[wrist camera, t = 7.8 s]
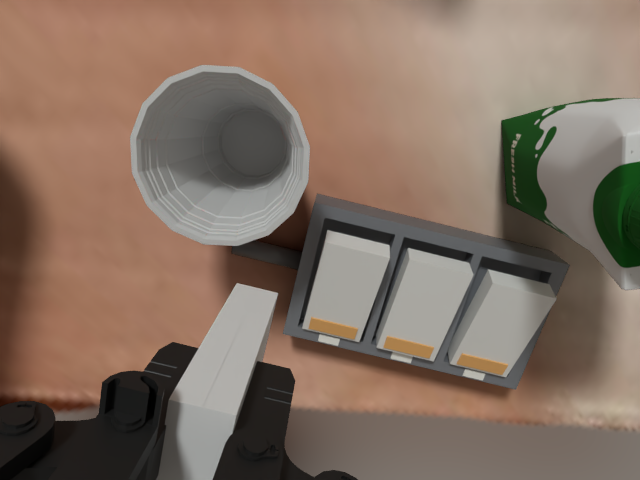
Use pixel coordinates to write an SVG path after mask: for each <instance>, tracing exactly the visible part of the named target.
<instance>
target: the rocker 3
mask: <svg viewBox="0 0 640 480" xmlns="http://www.w3.org/2000/svg"><path fill="white" fill-rule="evenodd" d="M556 299H557V298H556V296H555V294H554V292H553V290H552V288H551V286H550V284H546V283H542V282H538V281H534V280H530V279H526V278H521V277H517V276H513V275H509V274H505V273H501V272H497V271H493V270H489V269H488V271H487V273H486V275H485V277H484V278H483V280H482V282H481V284H480V286H479V288H478V290H477V292H476V294H475V296H474V298H473V300H472V302H471V304H470V306H469V307H468V309H467V311H466V313H465V315H464V317H463V319H462V321H461V323H460V325H459V327H458V329H457V331H456V333H455V335H454V336H453V338H452V340H451V342H450V345H449V348H448V357H449V363H450V364H452V365H456V366H460V367H465V368H469V369H473V370H477V371H481V372H485V373H490V374H494V375H498V376H502V377H507V375H508V373H509V372H510V370H511V369H512V367H513V366H514V364H515V363H516V361H517V360H518V358H519V356H520V355H521V353H522V352H523V350H524V349H525V347H526V346H527V344H528V343H529V341H530V339H531V338H532V336H533V335H534V333H535V332H536V330H537V329H538V327H539V326H540V324H541V322H542V321H543V319H544V318H545V316H546V315H547V313H548V312H549V310H550V309H551V307H552V305H553V304H554V302H555V301H556Z"/></svg>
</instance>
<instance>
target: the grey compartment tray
mask: <svg viewBox="0 0 640 480" xmlns="http://www.w3.org/2000/svg"><path fill="white" fill-rule="evenodd" d="M327 230H329V231H333V232H338V233H342V234H346V235H350V236H354V237H358V238H362V239H366V240H370V241H374V242H378V243H382V244H387V245H390V259H389V262H388V265H387V268H386V270H385V273H384V276H383V278H382V281H381V284H380V287H379V289H378V292H377V295H376V298H375V300H374V303H373V306H372V308H371V311H370V314H369V317H368V319H367V322H366V325H365V328H364V330H363V333H362V336H361V339H360V341H359V342H356V341H352V340H348V339H344V338H340V337H335V336H331V335H327V334H323V333H319V332H315V331H310V330H306V329H302V327H303V322H304V317H305V313H306V309H307V305H308V302H309V298H310V294H311V290H312V286H313V283H314V279H315V275H316V271H317V268H318V264H319V260H320V256H321V252H322V249H323V245H324V241H325V237H326V234H327ZM408 248H411V249H415V250H419V251H423V252H427V253H431V254H435V255H439V256H443V257H447V258H451V259H455V260H460V261H464V262H468V263H469V264H470V267H471V269H472V272H473V277H472V280H471V282H470V284H469V286H468V288H467V290H466V293H465V295H464V297H463V299H462V301H461V303H460V306H459V308H458V310H457V312H456V314H455V316H454V318H453V321H452V323H451V325H450V327H449V329H448V331H447V334H446V336H445V338H444V340H443V342H442V344H441V347H440V349H439V351H438V353H437V355H436V357H435V360H434V361H430V360H426V359H422V358H417V357H413V356H409V355H405V354H401V353H397V352H392V351H388V350H384V349H380V348H377V343H376V333H377V331H378V328H379V325H380V323H381V320H382V317H383V314H384V312H385V309H386V306H387V303H388V301H389V298H390V295H391V293H392V290H393V287H394V284H395V282H396V279H397V276H398V273H399V271H400V268H401V265H402V263H403V260H404V257H405V254H406V252H407V249H408ZM232 254H235V255H239V256H244V257H248V258H252V259H256V260H260V261H264V262H268V263H272V264H277V265H281V266H285V267H289V268H293V269H297V270H298V273H297V277H296V281H295V285H294V289H293V294H292V298H291V302H290V306H289V310H288V314H287V318H286V323H285V327H284V331H283V334H286V335H290V336H294V337H298V338H302V339H307V340H311V341H315V342H319V343H323V344H328V345H332V346H336V347H340V348H344V349H348V350H353V351H357V352H361V353H365V354H369V355H374V356H378V357H382V358H386V359H390V360H394V361H399V362H403V363H407V364H411V365H415V366H419V367H424V368H428V369H432V370H436V371H440V372H445V373H449V374H453V375H457V376H461V377H465V378H470V379H474V380H478V381H482V382H486V383H490V384H495V385H499V386H503V387H507V388H511V389H516V388H517V386H518V383H519V381H520V379H521V377H522V374H523V372H524V370H525V367H526V365H527V363H528V360H529V358H530V356H531V353H532V351H533V349H534V346H535V344H536V342H537V340H538V337H539V335H540V333H541V330H542V328H543V326H544V323H545V321H546V319H547V316H548V314H549V312H550V310H549V312H548V313H547V315H546V316H545V318H544V319H543V321H542V322H541V324H540V326H539V327H538V329H537V330H536V332H535V333H534V335H533V336H532V338H531V339H530V341H529V343H528V344H527V346H526V347H525V349H524V350H523V352H522V353H521V355H520V356H519V358H518V360H517V361H516V363H515V364H514V366H513V367H512V369H511V370H510V372H509V373H508V375H507V377H502V376H498V375H494V374H490V373H485V372H481V371H477V370H473V369H469V368H465V367H460V366H456V365H452V364H450V363H449V357H448V348H449V345H450V342H451V340H452V338H453V336H454V335H455V333H456V331H457V329H458V327H459V325H460V323H461V321H462V319H463V317H464V315H465V313H466V311H467V309H468V307H469V306H470V304H471V302H472V300H473V298H474V296H475V294H476V292H477V290H478V288H479V286H480V284H481V282H482V280H483V278H484V277H485V275H486V273H487V271H488V269H489V270H493V271H497V272H501V273H505V274H509V275H513V276H517V277H521V278H526V279H530V280H534V281H538V282H542V283H546V284H550V286H551V288H552V290H553V292H554V294H555V296H557V293H558V291H559V289H560V286H561V284H562V282H563V279H564V277H565V275H566V272H567V270H568V268H569V266H570V265H569V264H568V263H566V262H565V261H564V260H562V259H561V258H560V257H558V256H557V255H556V254H554V253H553V252H551V251H548V250H544V249H540V248H536V247H532V246H528V245H524V244H520V243H516V242H512V241H508V240H504V239H500V238H495V237H491V236H487V235H483V234H479V233H475V232H471V231H467V230H463V229H459V228H455V227H451V226H447V225H443V224H439V223H435V222H430V221H426V220H422V219H418V218H414V217H410V216H406V215H402V214H398V213H394V212H390V211H386V210H382V209H378V208H374V207H370V206H365V205H361V204H357V203H353V202H349V201H345V200H341V199H337V198H333V197H329V196H325V195H321V194H317V195H316V199H315V202H314V206H313V210H312V215H311V219H310V223H309V227H308V231H307V235H306V240H305V244H304V248H303V252H300V251H296V250H292V249H288V248H284V247H280V246H276V245H271V244H267V243H263V242H259V241H255V240H253V241H250V242H247V243H245V244H242V245H239V246H232Z"/></svg>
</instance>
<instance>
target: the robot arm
mask: <svg viewBox="0 0 640 480" xmlns="http://www.w3.org/2000/svg"><path fill="white" fill-rule="evenodd" d="M277 296H278V293H276V292H272V291H268V290H264V289H260V288H255V287H251V286H247V285H243V284H239V283H237V284H236V285H235V287H234V289H233V290H232V292H231V294H230V296H229V297H228V299H227V301H226V302H225V304H224V306H223V308H222V309H221V311H220V313H219V314H218V316H217V318H216V320H215V321H214V323H213V325H212V326H211V328H210V330H209V331H208V333H207V335H206V337H205V338H204V340H203V342H202V343H201V345H200V347H199V348H195V347H191V346H187V345H183V344H179V343H174V342H172V343H170V344H168V345H167V346H165V347H163V348H161V349H159V350H158V352H157V353H156V355H155V356H154V357H153V359H152V360H151V362H150V363H149V364H148V365H147V367H146V368H145V370H144V371H143V372H140V371H126V372H120V373H117V374H115V375H112V376H110V377H109V378H107V379H106V380H105V381H103V382H102V390H101V399H100V408H99V414H98V415H97V417H96V418H93V419H89V420H81V421H55V415H54V412H53V410H52V409H51V408H49V407H48V406H47V405H45V404H42V403H38V402H35V401H19V402H15V403H10V404H6V405H4V406H1V407H0V480H357V479H356V478H355V477H353V476H351V475H349V474H347V473H345V472H341V471H335V470H331V471H324V472H322V473H320V474H319V475H317V476H316V477H315V478H314V477H312V476H310V475H309V474H307V473H305V472H303V471H302V470H300V469H299V468H297V467H296V466H295V465H294V464H293V463H292V462H291V461H290V459H289V457H288V456H287V454H286V451H285V448H284V441H285V435H286V430H287V424H288V418H289V413H290V407H291V401H292V396H293V390H294V384H295V379H294V377H293V374H292V372H291V370H290V369H289V368H285V367H281V366H276V365H272V364H268V363H264V362H262V361H263V357H264V353H265V348H266V344H267V340H268V335H269V331H270V327H271V322H272V318H273V314H274V309H275V305H276V301H277Z"/></svg>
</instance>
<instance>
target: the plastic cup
mask: <svg viewBox="0 0 640 480" xmlns="http://www.w3.org/2000/svg"><path fill="white" fill-rule="evenodd" d="M130 143H131V163H132V174H133V176H134V178H135V181H136V183H137V185H138V187H139V189H140V192H141V194H142V196H143V198H144V200H145V203H146V205H147V206H148V207H149V208H150V209H151V210H152V211H153V212H154V213H155V214H156V215H157V216H158V217H159V218H160V219H161V220H162V221H163V222H164V223H165V224H166V225H167V226H168V227H169V228H170V229H171V230H172V231H175V232H177V233H179V234H181V235H184V236H186V237H188V238H190V239H193V240H195V241H197V242H199V243H202V244H206V245H227V246H239V245H242V244H245V243H247V242H250V241H253V240H256V239H259V238H262V237H265V236H268V235H269V234H271V233H272V232H273V231H274V230H275V229H276V228H277V227H278V226H279V225H281V224H282V223H283V222H284V221H285V220H286V219H287V218H288V217H290V216H291V215H292V214H293V213H294V211H295V209H296V207H297V205H298V203H299V200H300V198H301V196H302V194H303V192H304V190H305V188H306V186H307V184H308V175H309V154H310V146H309V143H308V140H307V137H306V135H305V132H304V129H303V126H302V123H301V120H300V117H299V115H298V112H297V111H296V110H295V109H294V107H293V106H292V105H291V104H290V103H289V102H288V101H287V100H286V98H285V97H284V96H283V95H282V94H281V93H280V92H279V90H278V89H277V88H276V87H275V86H274V85H273V84H272V83H270V82H268V81H266V80H264V79H262V78H260V77H258V76H256V75H254V74H252V73H250V72H248V71H246V70H244V69H242V68H240V67H229V66H212V65H200V66H198V67H195V68H192V69H190V70H187V71H185V72H182V73H179V74H177V75H174V76H171V77H169V78H167V79H166V80H165V81H164V82H163V83H162V84H161V85H160V86H159V87H158V88H157V89H156V90H155V91H154V92H153V93H152V94H151V95H150V96H149V97H148V99H147V100H146V101H145V102H144V103H143V104H142V107H141V109H140V112H139V115H138V117H137V120H136V123H135V125H134V128H133V131H132V134H131V136H130Z"/></svg>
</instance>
